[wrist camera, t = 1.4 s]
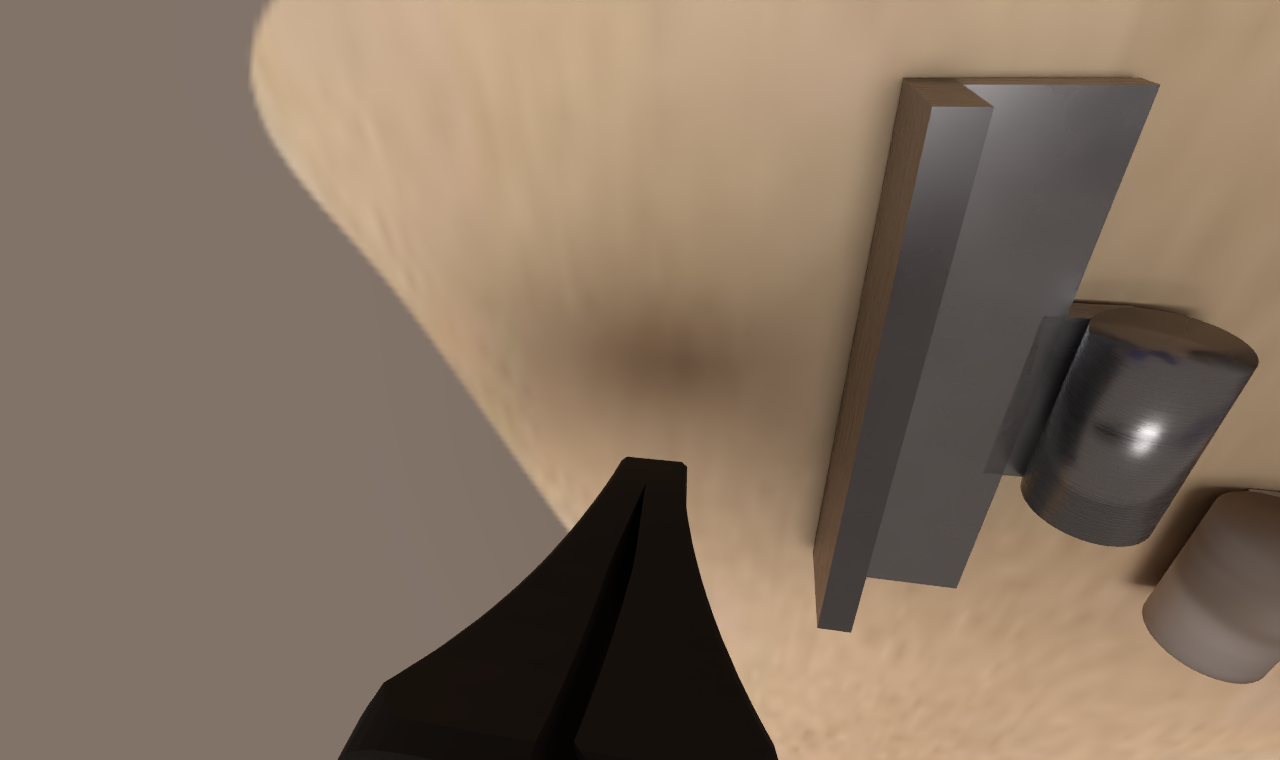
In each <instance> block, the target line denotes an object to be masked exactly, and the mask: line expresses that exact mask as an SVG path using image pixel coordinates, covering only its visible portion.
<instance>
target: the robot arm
mask: <svg viewBox="0 0 1280 760" xmlns="http://www.w3.org/2000/svg"><path fill="white" fill-rule="evenodd" d="M686 493H687V466H685V465H684V464H683V463H682V462H675V461H665V460H655V459H644V458H634V457H626V458H624V459H623V460H622V461H621V463H620V464H619V466H618V468H617V469H616V471H615V472H614V474H613V475H612V477H611V478H610V480H609V481H608V483H607V484H606V486H605V487H604V488H603V490H602V491H601V493H600V494H599V495H598V497H597V498H596V500H595V501H594V502H593V503H592V505H591V506H590V507H589V509H588V510H587V511H586V512H585V514H584V515H583V516H582V517H581V519H580V520H579V521H578V523H577V524H576V525H575V526H574V527H573V529H572V530H571V531H570V532H569V533H568V534H567V535H566V536H565V538H564V539H563V540H562V541H561V542H560V543H559V544H558V546H557V547H556V548H555V549H554V550H553V551H552V552H551V554H549V555H548V556H547V558H546V559H545V560H544V561H543V562H542V563H541V564H540V565H539V566H538V567H537V568H536V569H535V570H534V571H533V572H532V573H531V574H530V575H529V576H528V577H526V578H525V579H524V580H523V581H522V582H521V583H520V584H519V585H518V586H517V587H516V588H515V589H514V590H512V591H511V592H510V593H509V594H508V595H507V596H505V597H504V598H503V599H502V600H501V601H500V602H498V603H497V604H496V605H495V606H494V607H493V608H491V609H490V610H489V611H488V612H487V613H485V614H484V615H483V616H481V617H480V618H479V619H478V620H476V621H475V622H474V623H472V624H471V625H470V626H468V627H467V628H465V629H464V630H463V631H461V632H460V633H459V634H457V635H456V636H455V637H453V638H452V639H451V640H449V641H448V642H446V643H445V644H444V645H442V646H441V647H439V648H438V649H437V650H435V651H433V652H432V653H430V654H429V655H427V656H426V657H424V658H423V659H421V660H419V661H418V662H416V663H415V664H413V665H411V666H410V667H408V668H407V669H405V670H403V671H402V672H401V673H399V674H397V675H396V676H394V677H392V678H391V679H389V680H387V681H386V682H384V683H383V684H382V686H381V687H380V689H379V690H378V692H377V693H376V695H375V696H374V698H373V699H372V701H371V702H370V703H369V705H368V706H367V708H366V710H365V711H364V713H363V714H362V716H361V718H360V719H359V721H358V723H357V725H356V727H355V729H354V730H353V732H352V734H351V736H350V738H349V740H348V741H347V743H346V745H345V747H344V749H343V751H342V753H341V755H340V756H339V758H338V760H778V757H777V754H776V750H775V747H774V744H773V742H772V740H771V739H770V737H769V735H768V733H767V731H766V730H765V728H764V726H763V724H762V722H761V720H760V719H759V717H758V715H757V713H756V711H755V709H754V707H753V705H752V703H751V701H750V699H749V697H748V695H747V693H746V691H745V689H744V687H743V685H742V683H741V681H740V679H739V677H738V674H737V672H736V670H735V667H734V665H733V663H732V660H731V658H730V656H729V653H728V651H727V649H726V647H725V644H724V642H723V640H722V637H721V635H720V632H719V629H718V627H717V624H716V621H715V619H714V616H713V613H712V610H711V607H710V604H709V601H708V599H707V596H706V592H705V589H704V586H703V583H702V579H701V576H700V572H699V568H698V564H697V561H696V557H695V553H694V548H693V544H692V539H691V533H690V528H689V523H688V516H687V509H686Z"/></svg>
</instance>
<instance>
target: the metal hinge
mask: <svg viewBox="0 0 1280 760" xmlns="http://www.w3.org/2000/svg"><path fill="white" fill-rule="evenodd" d="M1159 87H1160V84H1157V83H1154V82H1151V81H1148V80H1145V79H1142V78H904V80H903V85H902V90H901V95H900V101H899V106H898V111H897V116H896V121H895V127H894V132H893V137H892V142H891V148H890V153H889V158H888V163H887V168H886V174H885V179H884V184H883V189H882V195H881V200H880V205H879V210H878V215H877V221H876V226H875V231H874V236H873V242H872V247H871V252H870V257H869V262H868V268H867V273H866V278H865V283H864V289H863V294H862V299H861V304H860V309H859V315H858V320H857V325H856V330H855V335H854V341H853V346H852V351H851V356H850V362H849V367H848V372H847V377H846V382H845V388H844V393H843V398H842V403H841V409H840V414H839V419H838V424H837V429H836V435H835V440H834V445H833V450H832V456H831V461H830V466H829V471H828V476H827V482H826V487H825V492H824V497H823V502H822V508H821V513H820V518H819V523H818V529H817V534H816V539H815V544H814V549H813V560H814V578H815V595H816V613H817V628H822V629H829V630H836V631H843V632H850V633H851V631H852V627H853V623H854V620H855V616H856V612H857V609H858V605H859V601H860V598H861V594H862V590H863V587H864V583H865V579H866V577H870V578H878V579H886V580H894V581H902V582H910V583H918V584H926V585H934V586H942V587H950V588H957V585H958V583H959V580H960V578H961V575H962V573H963V571H964V568H965V566H966V563H967V561H968V558H969V556H970V553H971V551H972V548H973V546H974V543H975V541H976V538H977V536H978V533H979V531H980V529H981V526H982V524H983V521H984V519H985V516H986V514H987V511H988V509H989V506H990V504H991V501H992V499H993V496H994V494H995V492H996V489H997V487H998V484H999V482H1000V479H1001V477H1002V475H1011V476H1021V477H1022V480H1021V492H1022V495H1023V497H1024V499H1025V501H1026V502H1027V504H1028V505H1029V506H1030V508H1031V509H1032V510H1033V511H1034V512H1035V513H1036V514H1037V515H1038V516H1040V517H1041V518H1042V519H1043V520H1045V521H1046V522H1047V523H1049V524H1050V525H1052V526H1053V527H1055V528H1057V529H1059V530H1060V531H1062V532H1064V533H1066V534H1068V535H1071V536H1073V537H1075V538H1078V539H1081V540H1084V541H1087V542H1090V543H1094V544H1099V545H1105V546H1115V547H1124V546H1132V545H1136V544H1139V543H1141V542H1143V541H1145V540H1146V539H1147V538H1149V536H1150V535H1151V534H1152V532H1153V530H1154V529H1155V527H1156V526H1157V524H1158V522H1159V521H1160V519H1161V518H1162V516H1163V515H1164V513H1165V511H1166V510H1167V508H1168V507H1169V505H1170V504H1171V502H1172V500H1173V499H1174V497H1175V496H1176V494H1177V492H1178V491H1179V489H1180V488H1181V486H1182V485H1183V483H1184V481H1185V480H1186V478H1187V477H1188V475H1189V474H1190V472H1191V470H1192V469H1193V467H1194V466H1195V464H1196V462H1197V461H1198V459H1199V458H1200V456H1201V455H1202V453H1203V451H1204V450H1205V448H1206V447H1207V445H1208V444H1209V442H1210V440H1211V439H1212V437H1213V436H1214V434H1215V432H1216V431H1217V429H1218V428H1219V426H1220V425H1221V423H1222V421H1223V420H1224V418H1225V417H1226V415H1227V414H1228V412H1229V410H1230V409H1231V407H1232V406H1233V404H1234V402H1235V401H1236V399H1237V398H1238V396H1239V395H1240V393H1241V391H1242V390H1243V388H1244V387H1245V385H1246V384H1247V382H1248V380H1249V379H1250V377H1251V376H1252V374H1253V372H1254V371H1255V369H1256V368H1257V366H1258V363H1259V361H1258V357H1257V355H1256V353H1255V352H1254V350H1253V349H1252V348H1251V347H1250V346H1249V345H1248V344H1246V343H1245V342H1244V341H1242V340H1241V339H1239V338H1238V337H1236V336H1235V335H1233V334H1231V333H1229V332H1227V331H1225V330H1223V329H1221V328H1219V327H1216V326H1214V325H1211V324H1209V323H1206V322H1203V321H1200V320H1197V319H1194V318H1191V317H1187V316H1183V315H1179V314H1175V313H1170V312H1165V311H1160V310H1153V309H1143V308H1137V307H1136V306H1124V305H1105V304H1086V303H1072V301H1073V299H1074V297H1075V294H1076V292H1077V289H1078V287H1079V284H1080V282H1081V279H1082V277H1083V274H1084V272H1085V269H1086V267H1087V264H1088V262H1089V260H1090V257H1091V255H1092V252H1093V250H1094V247H1095V245H1096V242H1097V240H1098V237H1099V235H1100V232H1101V230H1102V227H1103V225H1104V223H1105V220H1106V218H1107V215H1108V213H1109V210H1110V208H1111V205H1112V203H1113V200H1114V198H1115V195H1116V193H1117V190H1118V188H1119V185H1120V183H1121V181H1122V178H1123V176H1124V173H1125V171H1126V168H1127V166H1128V163H1129V161H1130V158H1131V156H1132V153H1133V151H1134V148H1135V146H1136V144H1137V141H1138V139H1139V136H1140V134H1141V131H1142V129H1143V126H1144V124H1145V121H1146V119H1147V116H1148V114H1149V111H1150V109H1151V107H1152V104H1153V102H1154V99H1155V97H1156V94H1157V92H1158V89H1159Z"/></svg>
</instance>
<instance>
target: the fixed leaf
mask: <svg viewBox="0 0 1280 760" xmlns="http://www.w3.org/2000/svg"><path fill="white" fill-rule="evenodd" d="M1142 615H1143V620H1144V623H1145V625H1146V627H1147V629H1148V631H1149V632H1150V634H1151V635H1152V636H1153V638H1154V639H1155V640H1156V641H1157V642H1158V643H1159V645H1160V646H1161V647H1162V648H1164V649H1165V650H1166V651H1167V652H1168V653H1169V654H1170V655H1172V656H1173V657H1174V658H1176V659H1177V660H1179V661H1180V662H1181V663H1183V664H1185V665H1186V666H1188V667H1190V668H1191V669H1193V670H1195V671H1197V672H1199V673H1201V674H1204V675H1206V676H1208V677H1211V678H1214V679H1217V680H1221V681H1224V682H1230V683H1237V684H1248V683H1253V682H1256V681H1259V680H1260V679H1262V678H1263V677H1264V676H1265V675H1266V674H1267V673H1268V672H1269V671H1270V670H1271V669H1272V668H1273V667H1274V666H1275V665H1276V664H1277V663H1278V662H1279V661H1280V492H1277V491H1266V490H1256V489H1248V491H1234V492H1228V493H1225V494H1222V495H1220V496H1219V497H1218V498H1217V499H1216V500H1215V502H1214V503H1213V504H1212V506H1211V507H1210V509H1209V510H1208V512H1207V513H1206V515H1205V516H1204V518H1203V519H1202V520H1201V522H1200V523H1199V525H1198V526H1197V528H1196V529H1195V531H1194V532H1193V534H1192V535H1191V536H1190V538H1189V539H1188V541H1187V542H1186V544H1185V545H1184V547H1183V548H1182V550H1181V551H1180V552H1179V554H1178V555H1177V557H1176V558H1175V560H1174V561H1173V563H1172V564H1171V566H1170V567H1169V568H1168V570H1167V571H1166V573H1165V574H1164V576H1163V577H1162V579H1161V580H1160V582H1159V583H1158V584H1157V586H1156V587H1155V589H1154V590H1153V592H1152V593H1151V595H1150V596H1149V598H1148V599H1147V600H1146V602H1145V603H1144V606H1143V610H1142Z"/></svg>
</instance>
